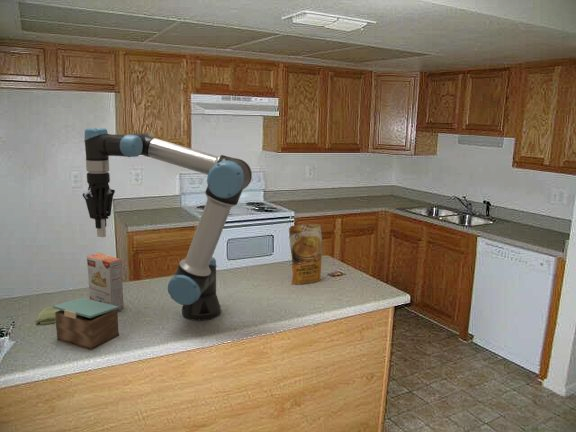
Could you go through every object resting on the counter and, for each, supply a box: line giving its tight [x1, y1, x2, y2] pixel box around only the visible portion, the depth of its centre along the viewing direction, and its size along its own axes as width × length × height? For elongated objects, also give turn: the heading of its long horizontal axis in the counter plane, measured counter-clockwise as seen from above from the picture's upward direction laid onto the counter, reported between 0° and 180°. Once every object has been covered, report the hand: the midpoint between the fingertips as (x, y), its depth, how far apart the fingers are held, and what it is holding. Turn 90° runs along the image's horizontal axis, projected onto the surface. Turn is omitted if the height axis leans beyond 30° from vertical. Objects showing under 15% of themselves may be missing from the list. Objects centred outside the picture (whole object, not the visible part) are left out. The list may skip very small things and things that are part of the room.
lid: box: [52, 297, 119, 319], centre depth 160 cm, size 17×13×2 cm
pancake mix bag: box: [288, 222, 323, 286], centre depth 222 cm, size 7×19×28 cm, turn 118°
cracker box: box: [86, 252, 124, 310], centre depth 187 cm, size 14×6×21 cm, turn 58°
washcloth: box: [35, 306, 60, 326], centre depth 179 cm, size 13×18×3 cm
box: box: [55, 309, 122, 351], centre depth 162 cm, size 17×13×10 cm
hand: (101, 236), depth 171 cm, fingers closed
